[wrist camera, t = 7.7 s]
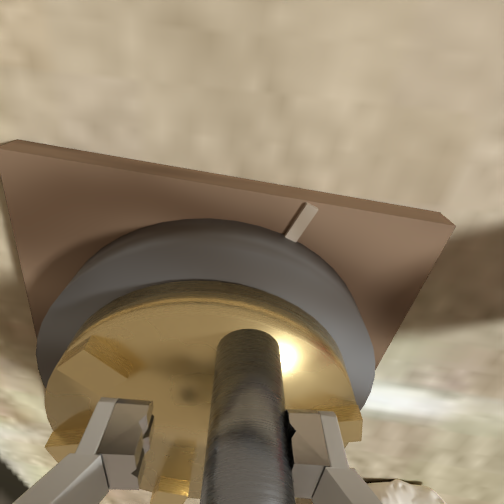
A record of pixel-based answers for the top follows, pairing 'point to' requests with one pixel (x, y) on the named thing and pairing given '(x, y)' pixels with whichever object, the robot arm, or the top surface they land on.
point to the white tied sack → (404, 493)
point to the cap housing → (210, 246)
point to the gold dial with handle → (204, 386)
